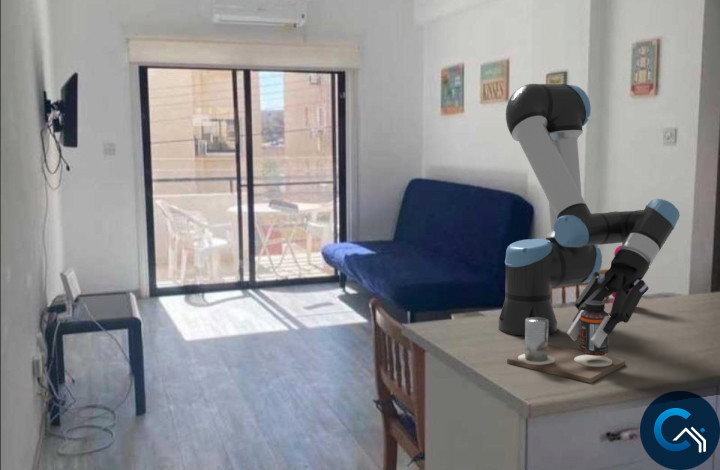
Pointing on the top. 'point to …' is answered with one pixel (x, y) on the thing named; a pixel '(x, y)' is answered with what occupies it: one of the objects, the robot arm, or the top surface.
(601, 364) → the board
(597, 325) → the supplement bottle
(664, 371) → the top surface
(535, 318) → the pin
